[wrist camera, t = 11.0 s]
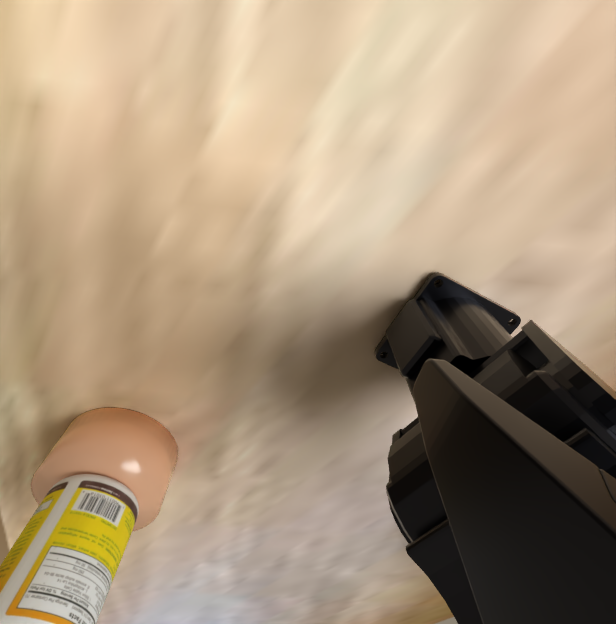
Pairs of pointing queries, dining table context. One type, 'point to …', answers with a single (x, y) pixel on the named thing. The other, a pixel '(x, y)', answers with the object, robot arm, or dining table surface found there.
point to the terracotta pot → (114, 456)
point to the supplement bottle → (68, 553)
